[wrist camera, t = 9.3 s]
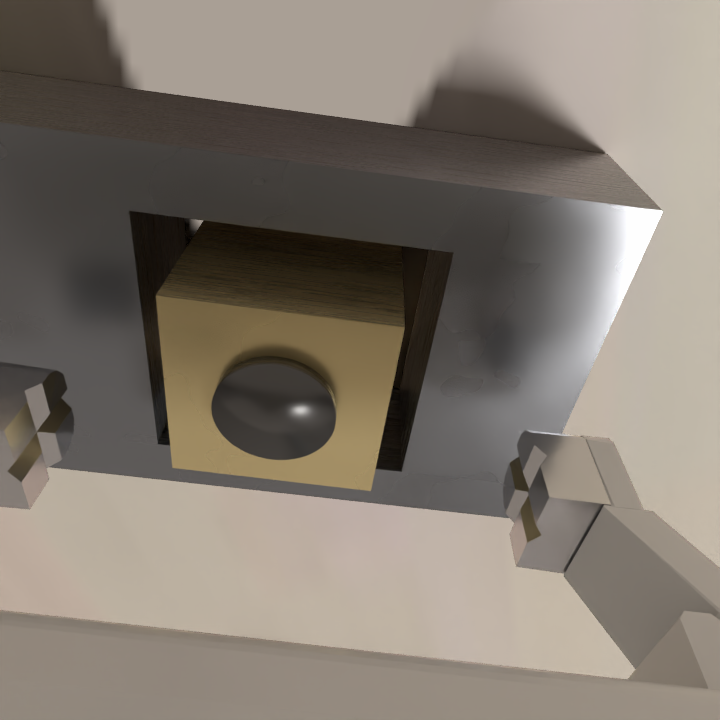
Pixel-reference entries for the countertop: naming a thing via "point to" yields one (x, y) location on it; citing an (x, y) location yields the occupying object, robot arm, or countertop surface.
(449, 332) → the rail
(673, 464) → the countertop surface
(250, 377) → the wooden knob block
